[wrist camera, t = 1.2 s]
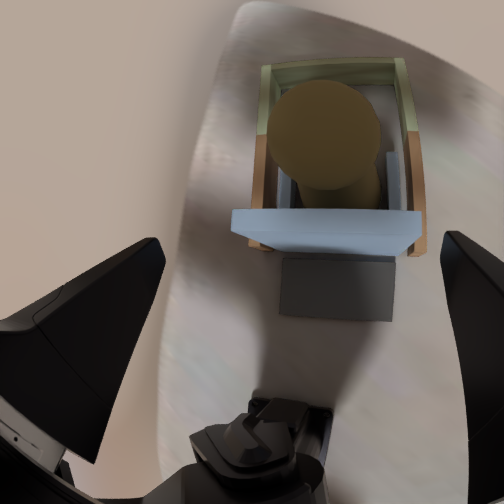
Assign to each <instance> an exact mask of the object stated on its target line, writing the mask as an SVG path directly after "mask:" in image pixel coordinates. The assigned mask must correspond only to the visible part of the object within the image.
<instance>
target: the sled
mask: <svg viewBox="0 0 504 504" xmlns="http://www.w3.org/2000/svg"><path fill="white" fill-rule="evenodd" d="M385 163H386V180H387V210H371V209H295V192H296V181H294V180H293V179H291V178H290V177H289V176H287V175H286V174H284V172H283V171H282V170H281V171H280V191H279V209H232V220H231V231H233V232H235V233H238V234H240V235H243V236H245V237H247V238H250V239H252V240H255V241H257V242H260V243H262V244H265V245H267V246H270V247H272V248H274V249H277V250H279V251H282V252H309V253H336V254H364V255H391V256H399V255H400V254H401V253H402V252H403V251H404V250H406V249H407V248H408V247H409V246H410V245H411V244H413V243H414V242H415V241H416V240H417V239H418V238H419V237H421V236H422V214H421V211H403V210H401V202H400V181H399V166H398V154H397V152H386V159H385Z"/></svg>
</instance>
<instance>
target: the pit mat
mask: <svg viewBox="0 0 504 504" xmlns="http://www.w3.org/2000/svg"><path fill="white" fill-rule="evenodd" d="M395 269H396V263H392V262H366V261H340V260H315V259H291V258H283V268H282V283H281V297H280V311H279V314H284V315H295V316H307V317H320V318H333V319H349V320H366V321H387V322H392V315H393V303H394V289H395Z"/></svg>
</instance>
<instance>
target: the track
mask: <svg viewBox="0 0 504 504" xmlns="http://www.w3.org/2000/svg"><path fill="white" fill-rule="evenodd" d="M311 80H331V81H336V82H340V83H343V84H345V85H394V87H395V93H396V99H397V105H398V111H399V118H400V125H401V133H402V141H403V151H404V161H405V173H406V189H407V211H421V214H422V236H421V237H419V238H418V239H417V240H416V241H415V242H414V243H413V244H411V245H410V246H409V247H408V256H414V257H419V256H420V255H422V254H424V253H426V252H427V224H426V199H425V184H424V172H423V162H422V153H421V145H420V138H419V131H418V124H417V118H416V112H415V107H414V101H413V96H412V91H411V87H410V82H409V78H408V73H407V69H406V65H405V61H404V58H389V57H354V58H330V59H316V60H304V61H294V62H286V63H278V64H271V65H264V66H262V67H261V80H260V93H259V106H258V119H257V132H256V146H255V159H254V173H253V187H252V201H251V209H276V193H277V174H278V164H277V163H276V162H275V160H274V159H273V157H272V156H271V153H270V149H269V145H268V142H267V137H266V133H267V121H268V118H269V116H270V114H271V111H272V109H273V107H274V105H275V104H276V102H277V101H278V100H279V99H280V98H281V90H282V89H292V88H293V87H295V86H296V85H299V84H302V83H305V82H308V81H311ZM248 246H249V247H252V248H255V249H258V250H261V251H273V248H272V247H270V246H267V245H265V244H262V243H260V242H257V241H255V240H252V239H250V238H249V242H248Z"/></svg>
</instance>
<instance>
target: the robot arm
mask: <svg viewBox="0 0 504 504" xmlns="http://www.w3.org/2000/svg"><path fill="white" fill-rule="evenodd" d="M440 263H441V268H442V274H443V280H444V286H445V292H446V299H447V305H448V309H449V314H450V318H451V322H452V327H453V331H454V336H455V341H456V346H457V351H458V356H459V362H460V368H461V374H462V381H463V388H464V396H465V405H466V415H467V428H468V440H469V441H468V452H469V483H468V504H495V503H498V502H501V501H504V262H502V261H501V260H500V259H498V258H497V257H495V256H494V255H493V254H491V253H490V252H489V251H487V250H486V249H484V248H483V247H481V246H480V245H479V244H477V243H476V242H474V241H473V240H471V239H470V238H468V237H467V236H465V235H464V234H462V233H461V232H459V231H446V232H445V234H444V238H443V244H442V249H441V254H440ZM165 264H166V259H165V255H164V253H163V250H162V248H161V245H160V242H159V240H158V239H157V238H155V237H152V238H151V237H150V238H144V239H142V240H141V241H139V242H137V243H135V244H133V245H131V246H130V247H128V248H126V249H124V250H122V251H121V252H119V253H117V254H115V255H113V256H112V257H110V258H108V259H106V260H105V261H103V262H101V263H99V264H98V265H96V266H94V267H92V268H91V269H89V270H88V271H86V272H84V273H82V274H81V275H79V276H77V277H76V278H74V279H72V280H71V281H69V282H67V283H66V284H65V285H62V286H60V287H59V288H57V289H56V290H54V291H52V292H51V293H49V294H47V295H46V296H44V297H42V298H41V299H39V300H37V301H35V302H34V303H32V304H30V305H28V306H27V307H25V308H23V309H21V310H20V311H18V312H17V313H14V314H13V315H11V316H9V317H7V318H5V319H3V320H0V504H330V502H329V496H328V489H327V483H326V477H325V471H324V468H323V467H324V463H325V458H326V453H327V448H328V443H329V438H330V433H331V427H332V422H333V416H334V412H333V410H332V409H331V408H326V407H317V406H309V405H308V404H307V403H306V402H300V401H292V400H286V399H279V398H274V399H272V400H270V399H264V398H258V397H254V398H252V399H251V400H250V401H249V404H248V413H241V414H240V415H239V416H238V417H237V418H236V419H235V420H234V421H232V422H231V423H229V424H215V425H212V426H207V427H205V429H203V430H201V431H199V432H196V433H194V434H192V435H190V436H189V438H190V442H191V445H192V448H193V452H194V455H195V458H196V461H197V463H195V464H190V465H187V466H184V467H182V468H181V469H180V470H178V471H177V472H176V473H175V474H173V475H172V476H171V477H170V478H168V479H167V480H166V481H164V482H163V483H162V484H160V485H159V486H158V487H156V488H155V489H154V490H152V491H151V492H150V493H148V494H147V495H145V496H144V497H140V498H131V499H95V498H92V497H90V496H89V495H87V494H85V493H83V492H81V491H80V490H78V489H77V488H75V485H74V481H73V478H72V474H71V471H70V467H69V463H68V462H66V461H64V460H63V459H62V458H63V456H64V454H65V452H66V450H68V451H69V452H71V453H73V454H75V455H77V456H78V457H80V458H82V459H84V460H86V461H87V462H89V463H91V464H94V463H95V461H96V458H97V455H98V452H99V448H100V445H101V442H102V439H103V436H104V432H105V430H106V427H107V423H108V421H109V417H110V414H111V411H112V408H113V405H114V402H115V400H116V397H117V394H118V391H119V388H120V386H121V383H122V380H123V377H124V374H125V372H126V369H127V367H128V364H129V361H130V359H131V356H132V354H133V351H134V348H135V346H136V343H137V341H138V338H139V336H140V333H141V331H142V328H143V326H144V323H145V321H146V318H147V316H148V314H149V311H150V309H151V306H152V304H153V301H154V298H155V295H156V292H157V289H158V286H159V283H160V280H161V276H162V273H163V270H164V267H165ZM253 402H257V404H258V406H256V405H254V403H253ZM324 413H329V414H330V416H327V417H326V416H325V415H324Z"/></svg>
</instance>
